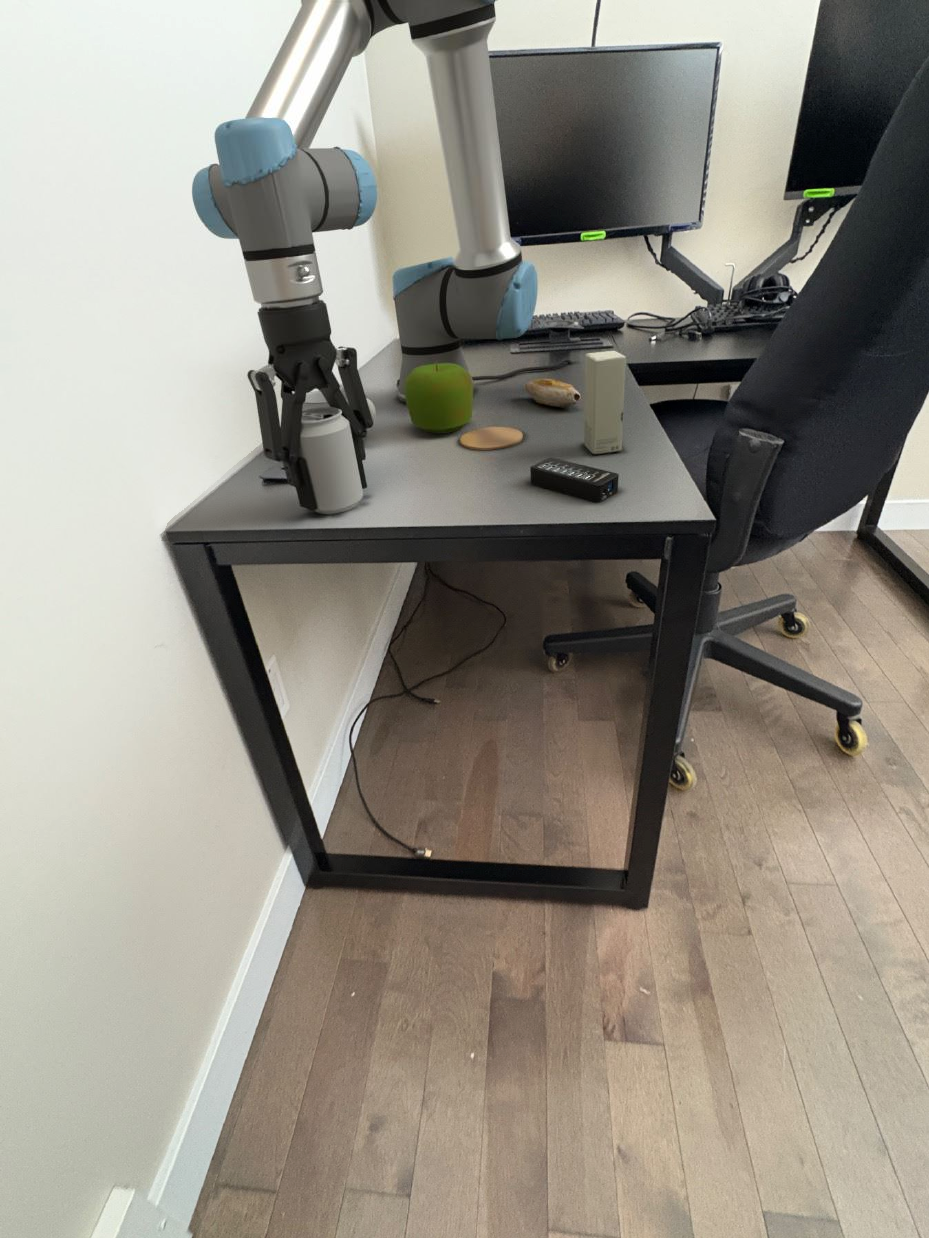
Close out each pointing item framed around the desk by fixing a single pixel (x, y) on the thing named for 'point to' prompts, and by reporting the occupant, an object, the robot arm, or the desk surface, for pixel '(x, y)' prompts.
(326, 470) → the can
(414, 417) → the apple
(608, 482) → the multiport hub
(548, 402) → the beige elongated hollow pod
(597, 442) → the box
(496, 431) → the coaster
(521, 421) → the desk surface
